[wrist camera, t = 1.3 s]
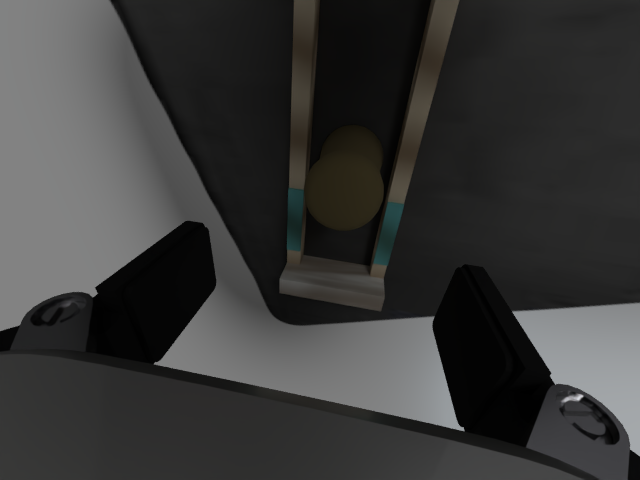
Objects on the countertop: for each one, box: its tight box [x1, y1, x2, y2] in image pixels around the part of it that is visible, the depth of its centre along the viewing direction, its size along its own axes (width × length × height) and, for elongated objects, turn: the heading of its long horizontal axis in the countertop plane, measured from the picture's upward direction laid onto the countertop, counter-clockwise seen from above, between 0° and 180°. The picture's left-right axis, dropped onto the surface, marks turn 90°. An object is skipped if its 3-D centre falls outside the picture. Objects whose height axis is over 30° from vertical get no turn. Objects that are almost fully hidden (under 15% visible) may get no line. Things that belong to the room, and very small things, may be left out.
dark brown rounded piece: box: [304, 125, 384, 231], centre depth 20 cm, size 6×6×11 cm
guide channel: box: [280, 0, 459, 311], centre depth 22 cm, size 30×11×5 cm, turn 175°
